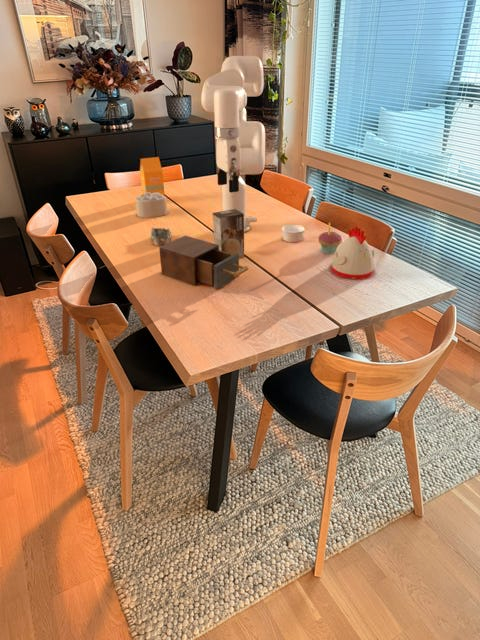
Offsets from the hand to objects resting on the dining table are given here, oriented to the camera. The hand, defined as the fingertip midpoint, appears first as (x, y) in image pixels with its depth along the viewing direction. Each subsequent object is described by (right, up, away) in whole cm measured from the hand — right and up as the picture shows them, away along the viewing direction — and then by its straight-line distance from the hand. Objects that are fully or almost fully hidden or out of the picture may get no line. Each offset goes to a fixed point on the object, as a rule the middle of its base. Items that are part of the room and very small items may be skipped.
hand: (228, 188), depth 152 cm
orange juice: (-38, +14, +70) cm, 80 cm away
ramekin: (+24, -12, +27) cm, 39 cm away
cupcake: (+37, -19, +17) cm, 44 cm away
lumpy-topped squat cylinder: (-36, +4, +54) cm, 65 cm away
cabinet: (-13, -28, +2) cm, 31 cm away
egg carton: (-27, -13, +26) cm, 40 cm away
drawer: (-3, -31, -5) cm, 31 cm away
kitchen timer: (+42, -27, +3) cm, 50 cm away
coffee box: (0, -21, +13) cm, 25 cm away
